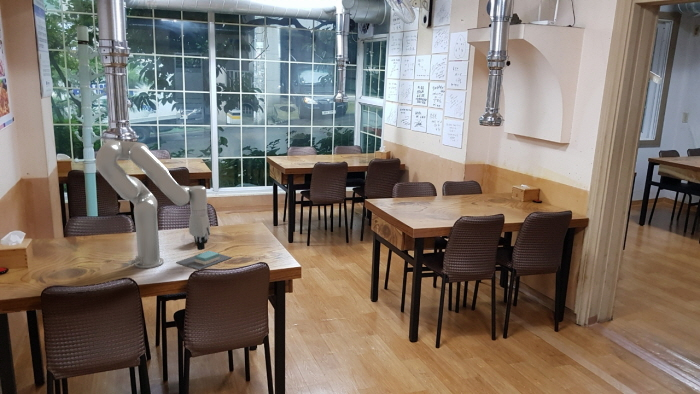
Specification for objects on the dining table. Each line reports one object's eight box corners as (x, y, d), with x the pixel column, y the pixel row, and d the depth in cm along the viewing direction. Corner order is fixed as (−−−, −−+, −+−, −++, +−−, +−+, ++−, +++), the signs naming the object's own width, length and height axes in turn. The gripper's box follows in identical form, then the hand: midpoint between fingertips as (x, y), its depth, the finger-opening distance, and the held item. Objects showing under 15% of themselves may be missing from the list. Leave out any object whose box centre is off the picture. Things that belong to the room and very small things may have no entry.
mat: (199, 270, 237) (199, 269, 237) (176, 262, 245) (176, 262, 245) (231, 258, 253) (231, 257, 253) (208, 251, 262) (208, 251, 262)
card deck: (194, 261, 246) (205, 264, 243) (194, 255, 246) (204, 258, 242) (209, 256, 254) (219, 259, 250) (208, 250, 253) (219, 253, 250)
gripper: (182, 211, 246) (184, 248, 250) (204, 216, 238) (205, 254, 242) (194, 208, 252) (196, 244, 256) (216, 213, 244) (217, 250, 249)
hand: (201, 249), depth 249 cm, fingers closed
